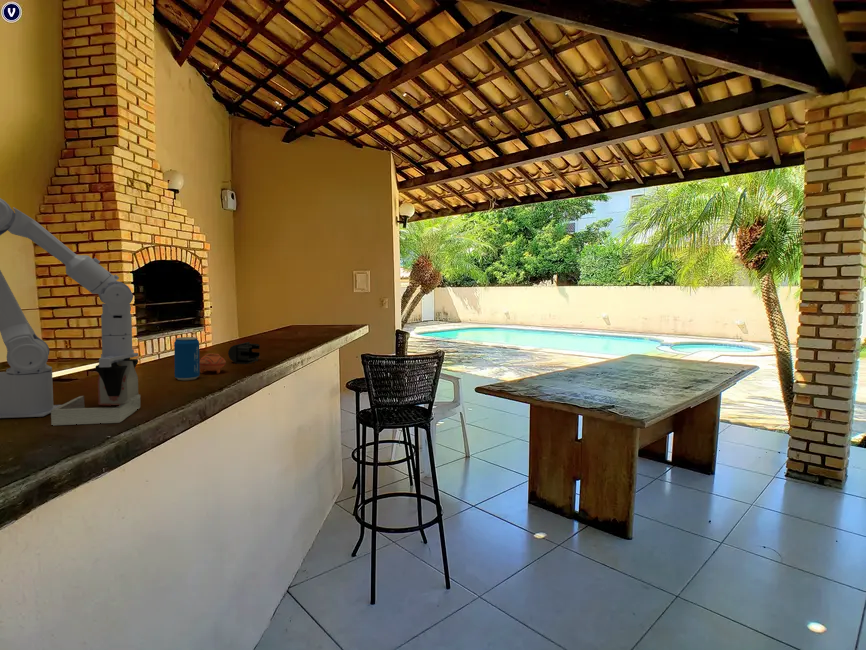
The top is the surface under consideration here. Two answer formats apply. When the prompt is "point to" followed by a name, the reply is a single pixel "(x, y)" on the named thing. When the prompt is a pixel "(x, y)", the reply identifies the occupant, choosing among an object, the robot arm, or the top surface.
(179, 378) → the beverage can
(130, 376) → the tea bag
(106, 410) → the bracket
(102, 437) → the top surface
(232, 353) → the end cap
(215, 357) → the pot
